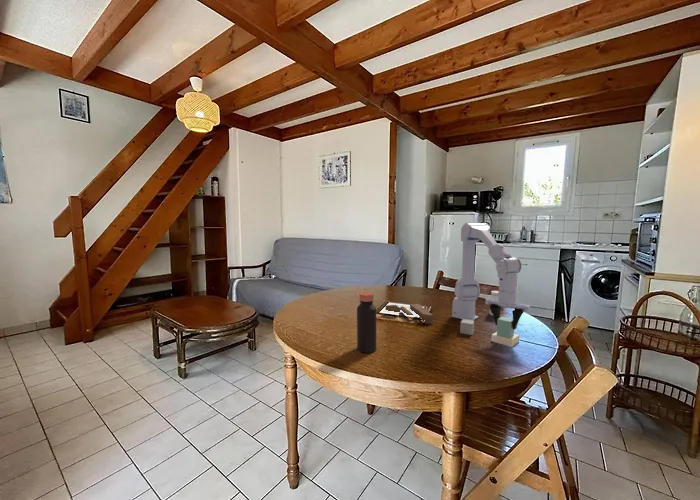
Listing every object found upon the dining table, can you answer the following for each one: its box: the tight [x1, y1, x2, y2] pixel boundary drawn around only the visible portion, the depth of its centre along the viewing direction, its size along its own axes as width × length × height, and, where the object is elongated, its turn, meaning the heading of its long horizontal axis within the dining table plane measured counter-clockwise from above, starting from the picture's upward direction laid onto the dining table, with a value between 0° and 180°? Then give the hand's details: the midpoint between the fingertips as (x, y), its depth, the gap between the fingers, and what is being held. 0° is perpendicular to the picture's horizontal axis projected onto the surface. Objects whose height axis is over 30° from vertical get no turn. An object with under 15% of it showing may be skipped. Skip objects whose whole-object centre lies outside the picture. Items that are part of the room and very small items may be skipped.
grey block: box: [459, 319, 475, 336], centre depth 118 cm, size 4×4×4 cm
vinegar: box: [356, 291, 377, 354], centre depth 103 cm, size 7×7×20 cm
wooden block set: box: [384, 303, 434, 325], centre depth 136 cm, size 17×6×18 cm
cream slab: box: [491, 331, 520, 348], centre depth 109 cm, size 7×7×3 cm
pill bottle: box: [488, 290, 505, 317], centre depth 139 cm, size 6×6×11 cm
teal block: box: [496, 315, 515, 338], centre depth 109 cm, size 4×4×6 cm
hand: (505, 326), depth 109 cm, fingers open, 5 cm apart
